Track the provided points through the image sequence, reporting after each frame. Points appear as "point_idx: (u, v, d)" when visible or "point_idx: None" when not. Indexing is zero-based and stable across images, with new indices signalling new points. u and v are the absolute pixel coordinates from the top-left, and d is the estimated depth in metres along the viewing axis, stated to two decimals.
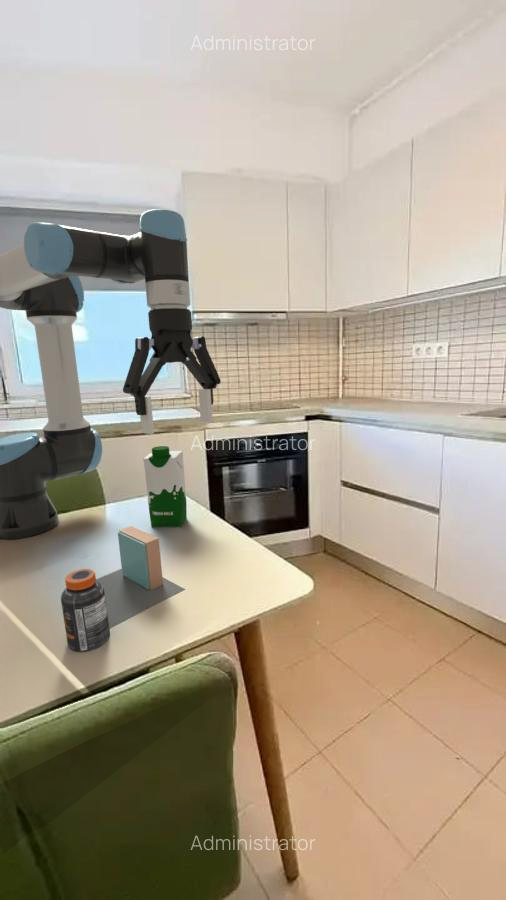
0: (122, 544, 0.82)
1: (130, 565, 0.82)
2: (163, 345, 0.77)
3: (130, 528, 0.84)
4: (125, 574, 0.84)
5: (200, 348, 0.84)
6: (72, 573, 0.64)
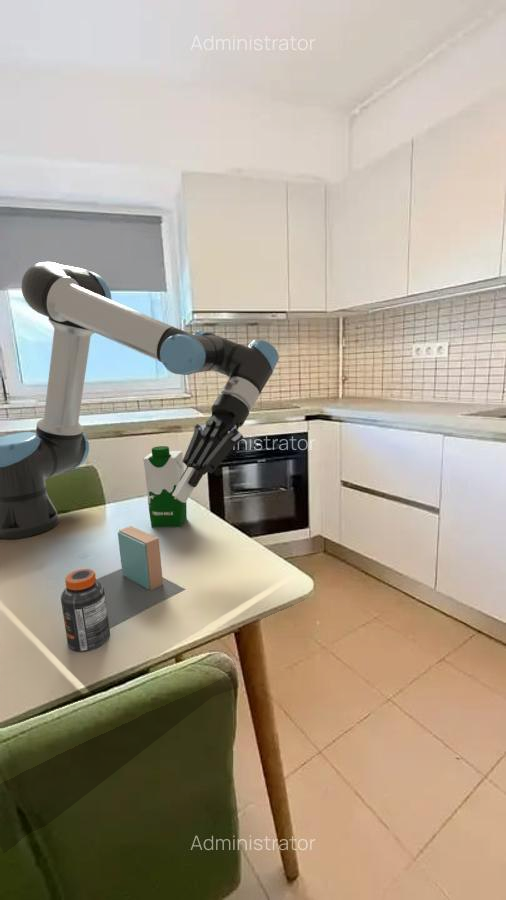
0: (122, 544, 0.82)
1: (130, 565, 0.82)
2: None
3: (130, 528, 0.84)
4: (125, 574, 0.84)
5: None
6: (72, 573, 0.64)
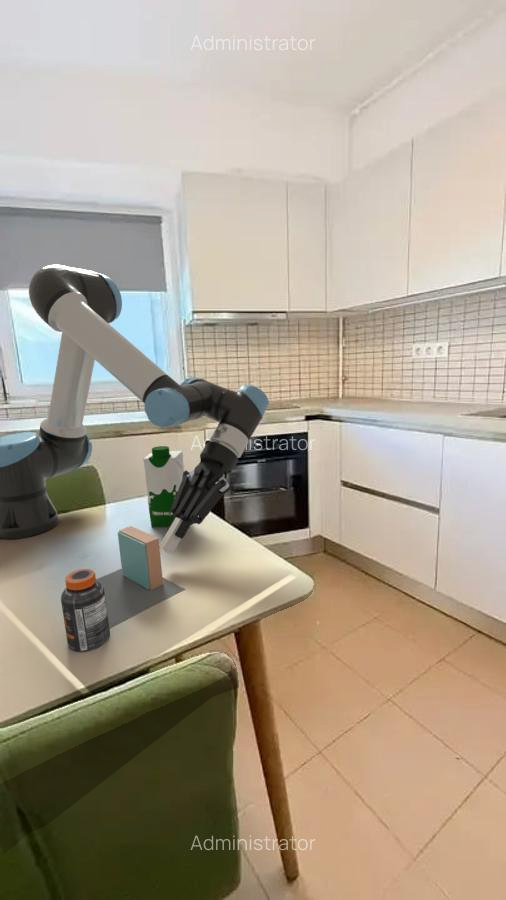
0: (122, 544, 0.82)
1: (130, 565, 0.82)
2: None
3: (130, 528, 0.84)
4: (125, 574, 0.84)
5: None
6: (72, 573, 0.64)
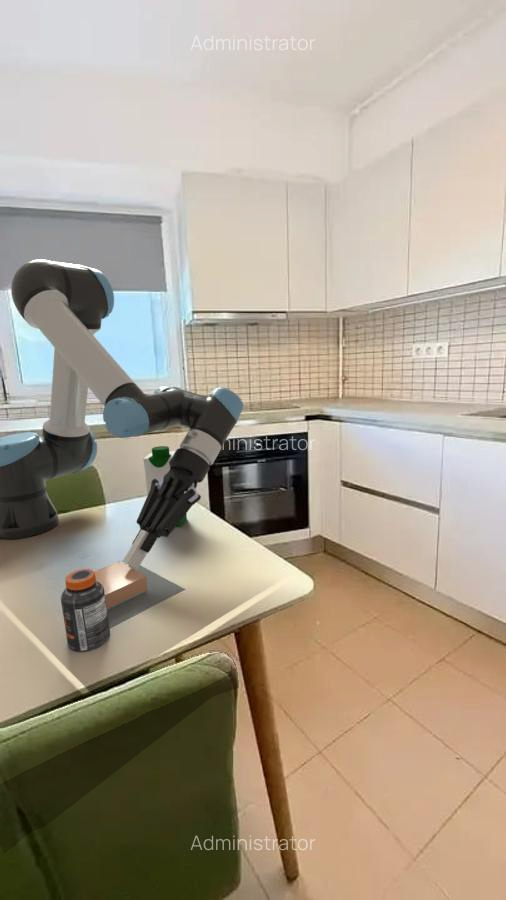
0: None
1: None
2: None
3: None
4: None
5: None
6: (72, 573, 0.64)
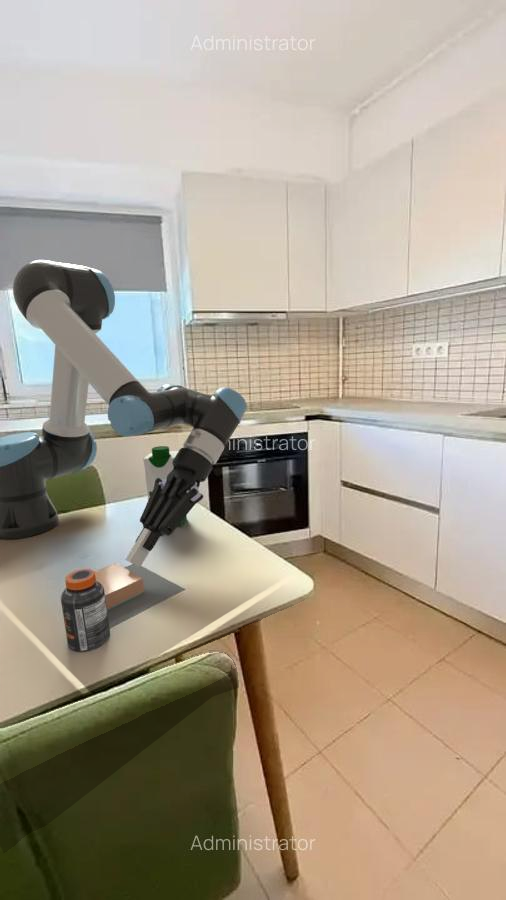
0: None
1: None
2: None
3: None
4: None
5: None
6: (72, 573, 0.64)
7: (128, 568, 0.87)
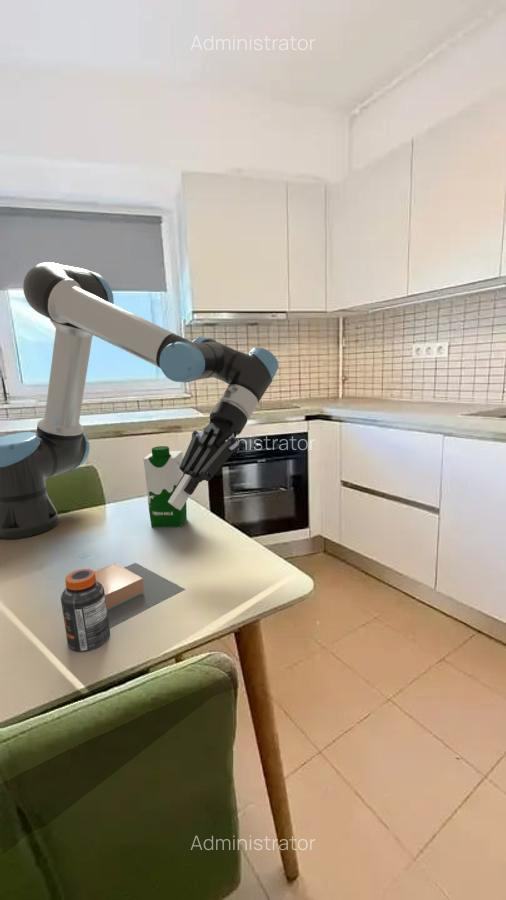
0: None
1: None
2: None
3: None
4: None
5: None
6: (72, 573, 0.64)
7: (128, 568, 0.87)
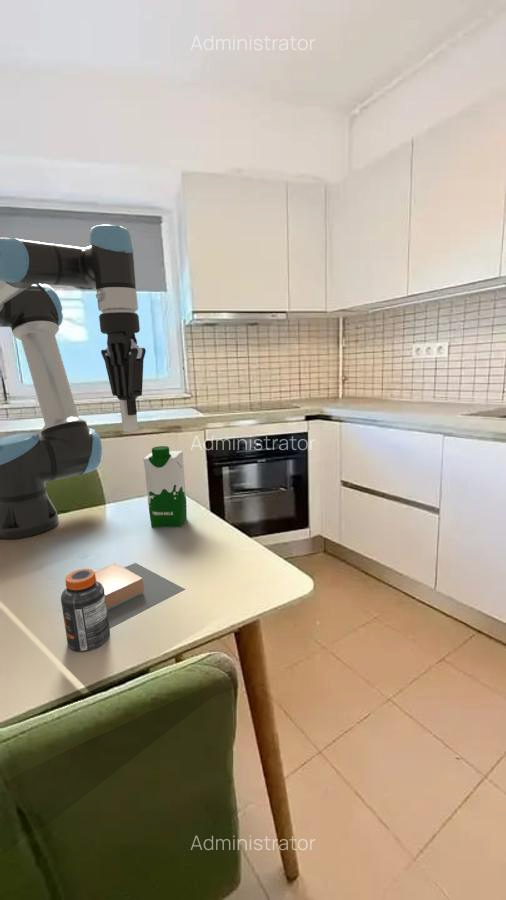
0: None
1: None
2: (110, 344, 0.90)
3: None
4: None
5: None
6: (72, 573, 0.64)
7: (128, 568, 0.87)
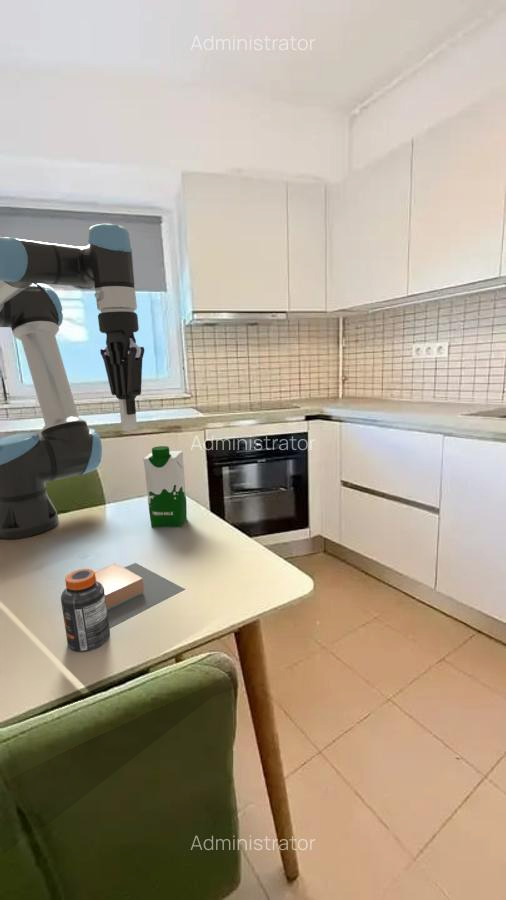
0: None
1: None
2: None
3: None
4: None
5: None
6: (72, 573, 0.64)
7: (128, 568, 0.87)
